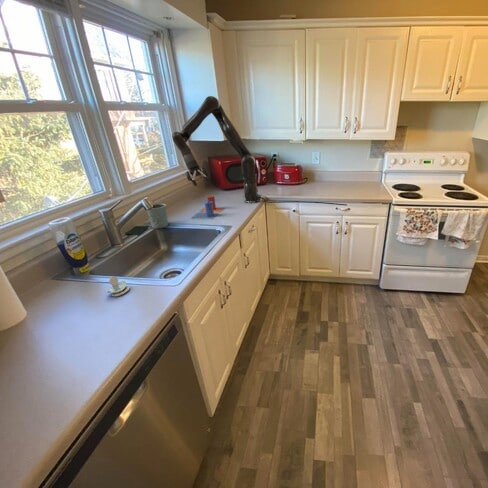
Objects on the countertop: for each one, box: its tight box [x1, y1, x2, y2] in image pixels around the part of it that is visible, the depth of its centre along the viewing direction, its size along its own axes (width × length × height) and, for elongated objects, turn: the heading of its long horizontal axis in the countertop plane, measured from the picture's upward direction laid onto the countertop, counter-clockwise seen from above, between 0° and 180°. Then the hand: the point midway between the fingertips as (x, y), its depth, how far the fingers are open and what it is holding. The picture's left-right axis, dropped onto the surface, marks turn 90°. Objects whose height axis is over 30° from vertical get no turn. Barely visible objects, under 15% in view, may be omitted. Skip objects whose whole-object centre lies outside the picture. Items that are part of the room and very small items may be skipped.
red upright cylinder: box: [206, 195, 217, 210], centre depth 189 cm, size 5×5×9 cm
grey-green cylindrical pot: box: [146, 203, 169, 229], centre depth 161 cm, size 10×10×12 cm
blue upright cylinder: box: [204, 200, 215, 218], centre depth 177 cm, size 5×5×9 cm
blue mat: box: [191, 212, 219, 219], centre depth 179 cm, size 13×10×1 cm
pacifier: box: [104, 275, 131, 297], centre depth 101 cm, size 7×6×6 cm
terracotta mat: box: [201, 207, 225, 213], centre depth 191 cm, size 13×9×1 cm
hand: (201, 184), depth 193 cm, fingers open, 8 cm apart
